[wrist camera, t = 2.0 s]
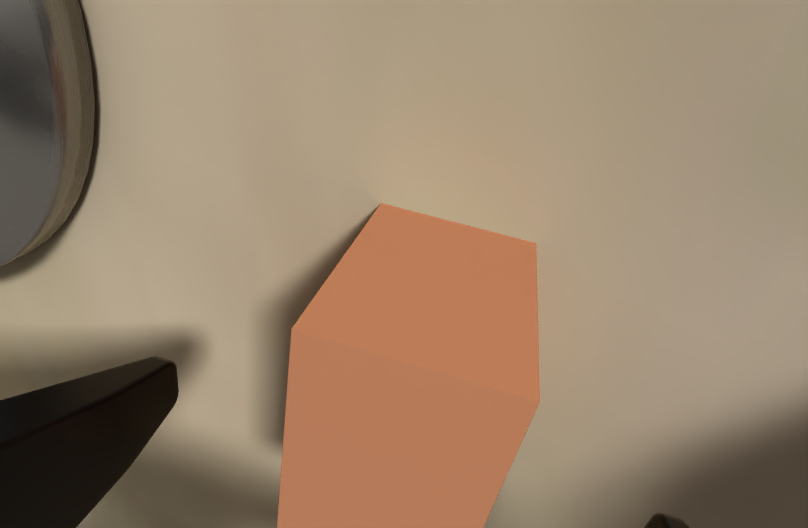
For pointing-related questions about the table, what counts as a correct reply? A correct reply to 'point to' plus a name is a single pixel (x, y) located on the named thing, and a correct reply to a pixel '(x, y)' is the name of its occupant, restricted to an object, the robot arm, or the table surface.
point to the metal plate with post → (42, 119)
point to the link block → (411, 378)
